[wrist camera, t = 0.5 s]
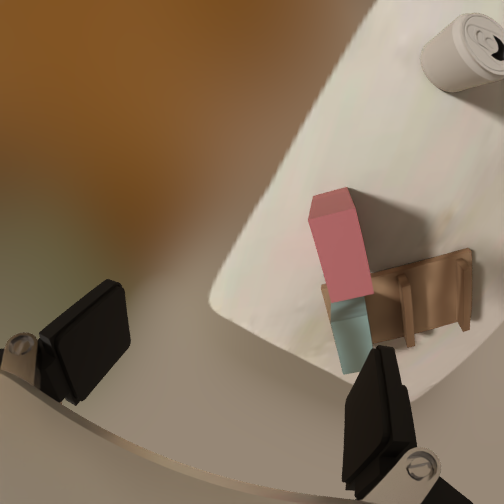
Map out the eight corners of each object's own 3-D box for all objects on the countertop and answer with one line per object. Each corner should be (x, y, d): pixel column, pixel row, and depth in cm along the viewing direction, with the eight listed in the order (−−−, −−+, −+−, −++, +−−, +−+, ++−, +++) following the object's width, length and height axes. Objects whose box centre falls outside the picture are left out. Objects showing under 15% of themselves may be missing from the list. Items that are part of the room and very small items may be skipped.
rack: (467, 247, 30) (492, 272, 24) (468, 312, 33) (486, 343, 26) (321, 284, 37) (319, 316, 30) (337, 345, 40) (336, 381, 33)
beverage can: (460, 102, 24) (515, 93, 13) (413, 77, 25) (453, 53, 14) (469, 58, 21) (521, 35, 11) (423, 33, 22) (461, -5, 11)
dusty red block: (346, 186, 32) (355, 207, 23) (363, 251, 34) (374, 293, 25) (313, 196, 33) (307, 219, 24) (331, 259, 35) (331, 302, 26)
